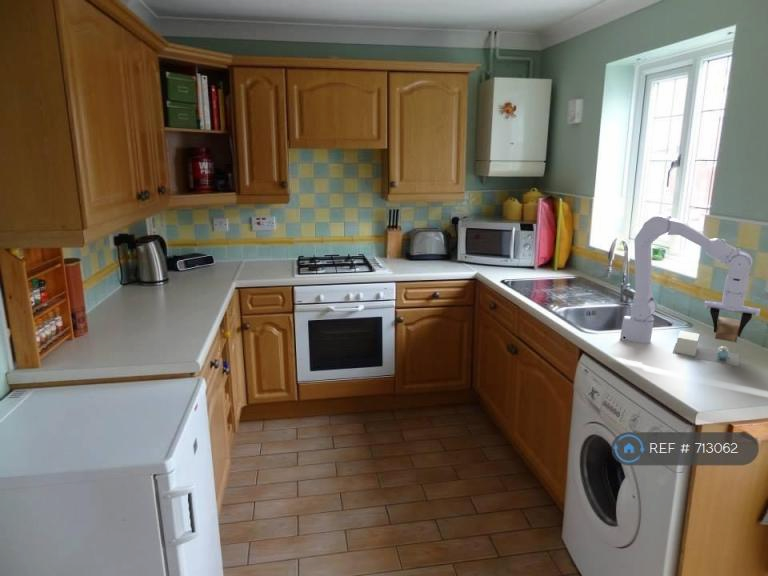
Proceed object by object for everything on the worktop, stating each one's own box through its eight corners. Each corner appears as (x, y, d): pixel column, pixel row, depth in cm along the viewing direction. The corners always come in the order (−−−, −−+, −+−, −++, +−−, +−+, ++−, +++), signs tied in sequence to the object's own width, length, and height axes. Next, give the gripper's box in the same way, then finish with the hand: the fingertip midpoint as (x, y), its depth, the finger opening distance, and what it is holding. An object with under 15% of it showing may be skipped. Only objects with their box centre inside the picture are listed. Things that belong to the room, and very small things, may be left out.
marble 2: (716, 359, 167) (717, 350, 166) (716, 356, 169) (718, 347, 169) (727, 361, 165) (729, 352, 165) (727, 358, 168) (729, 349, 167)
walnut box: (714, 338, 165) (717, 323, 164) (716, 331, 172) (718, 316, 171) (736, 342, 162) (739, 326, 161) (736, 334, 169) (739, 319, 168)
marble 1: (716, 355, 170) (718, 346, 169) (716, 352, 172) (718, 344, 172) (727, 357, 168) (729, 348, 168) (727, 355, 171) (729, 346, 170)
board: (671, 356, 171) (672, 353, 171) (675, 346, 181) (676, 342, 181) (738, 369, 162) (738, 366, 162) (738, 358, 172) (739, 354, 171)
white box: (675, 352, 172) (677, 337, 171) (677, 344, 179) (680, 330, 178) (695, 356, 169) (697, 341, 168) (697, 348, 176) (699, 333, 175)
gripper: (706, 290, 164) (699, 332, 167) (763, 298, 156) (754, 342, 160) (707, 286, 170) (700, 326, 173) (763, 293, 162) (754, 335, 166)
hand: (726, 333), depth 167 cm, fingers closed on walnut box, 6 cm apart
